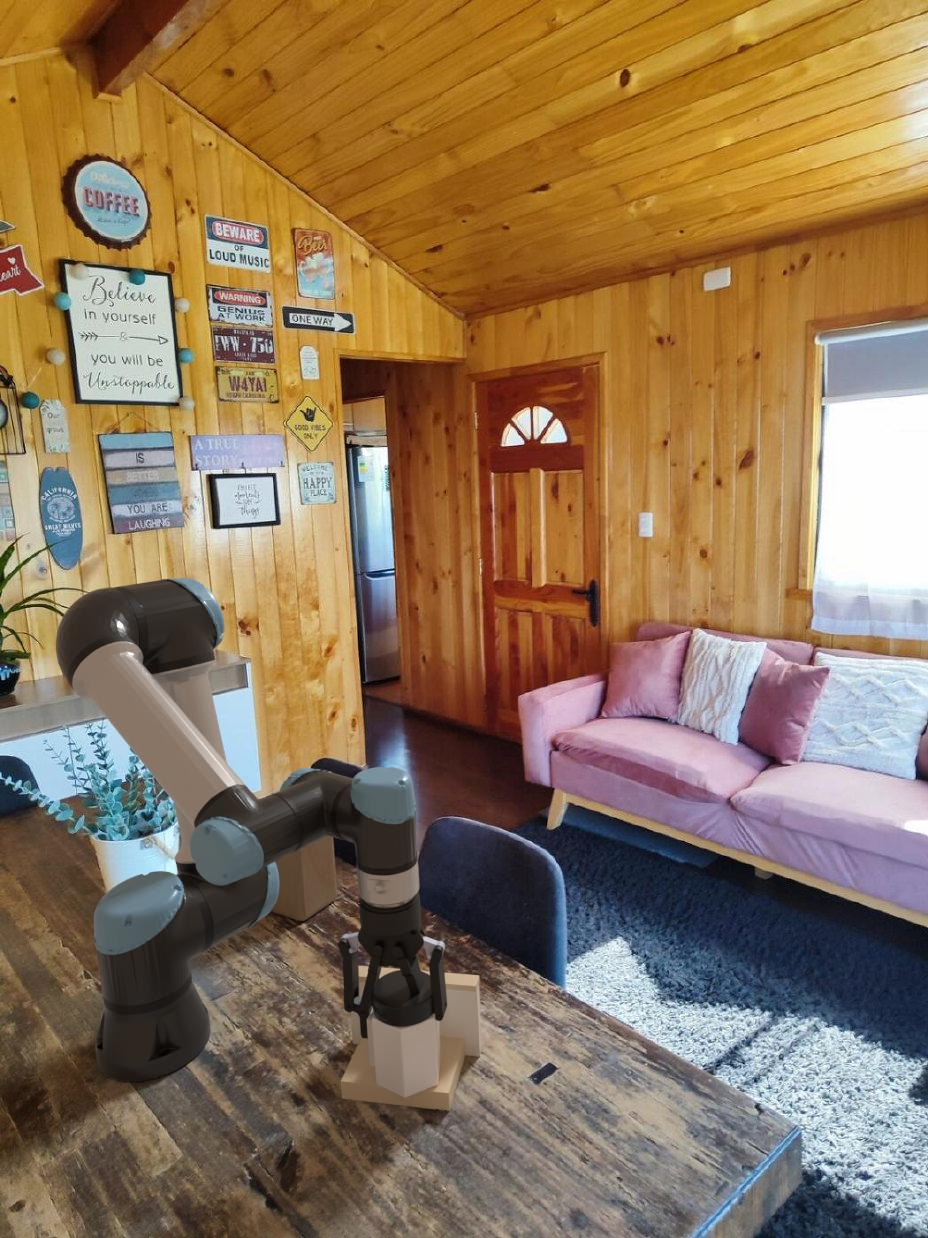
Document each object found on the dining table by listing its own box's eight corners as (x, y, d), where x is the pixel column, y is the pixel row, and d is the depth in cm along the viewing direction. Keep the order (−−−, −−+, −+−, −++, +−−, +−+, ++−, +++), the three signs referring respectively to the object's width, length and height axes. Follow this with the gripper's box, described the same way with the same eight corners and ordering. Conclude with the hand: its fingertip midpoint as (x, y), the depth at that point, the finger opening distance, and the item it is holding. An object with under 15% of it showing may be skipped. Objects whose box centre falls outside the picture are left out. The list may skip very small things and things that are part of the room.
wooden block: (339, 899, 154) (332, 798, 151) (302, 925, 146) (293, 818, 142) (300, 887, 159) (292, 789, 156) (262, 911, 151) (253, 808, 148)
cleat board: (327, 1097, 105) (321, 1020, 103) (357, 1034, 116) (352, 965, 114) (465, 1113, 101) (461, 1034, 99) (482, 1047, 113) (479, 975, 111)
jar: (382, 1048, 109) (377, 966, 107) (443, 1048, 109) (439, 966, 107) (371, 1099, 101) (365, 1011, 99) (437, 1099, 100) (432, 1010, 98)
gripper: (306, 904, 99) (319, 1074, 103) (456, 915, 96) (463, 1091, 100) (328, 874, 107) (340, 1034, 111) (468, 883, 103) (475, 1048, 107)
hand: (398, 1061), depth 105 cm, fingers open, 5 cm apart
